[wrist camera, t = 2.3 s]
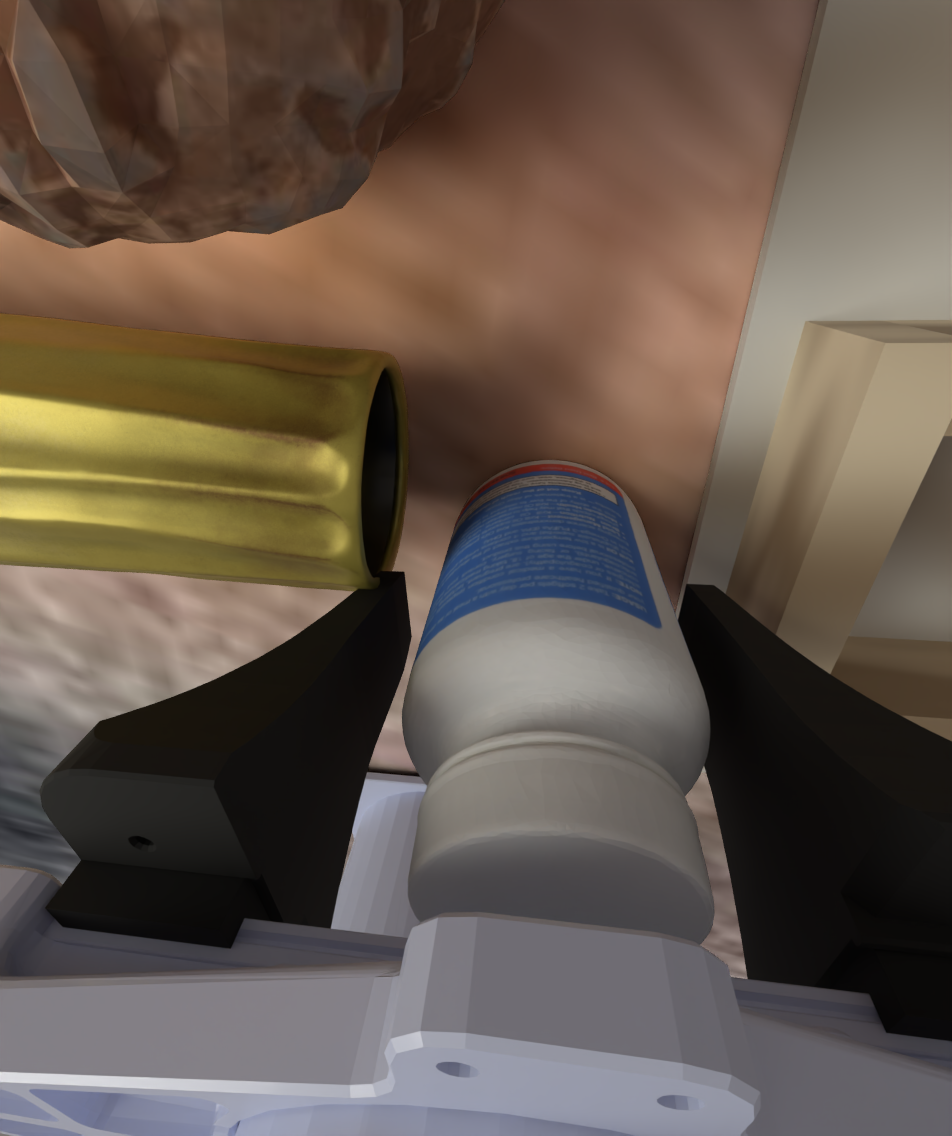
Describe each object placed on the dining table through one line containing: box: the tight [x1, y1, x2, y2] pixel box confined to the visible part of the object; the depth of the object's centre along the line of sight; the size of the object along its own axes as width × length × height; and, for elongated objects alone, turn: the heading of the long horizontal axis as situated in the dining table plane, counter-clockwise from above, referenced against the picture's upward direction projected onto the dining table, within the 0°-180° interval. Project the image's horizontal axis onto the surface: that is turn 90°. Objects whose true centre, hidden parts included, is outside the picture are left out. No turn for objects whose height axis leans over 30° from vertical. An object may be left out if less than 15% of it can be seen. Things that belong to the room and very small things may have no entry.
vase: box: [0, 313, 409, 592], centre depth 11 cm, size 6×6×14 cm
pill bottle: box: [402, 460, 714, 945], centre depth 11 cm, size 6×5×10 cm
